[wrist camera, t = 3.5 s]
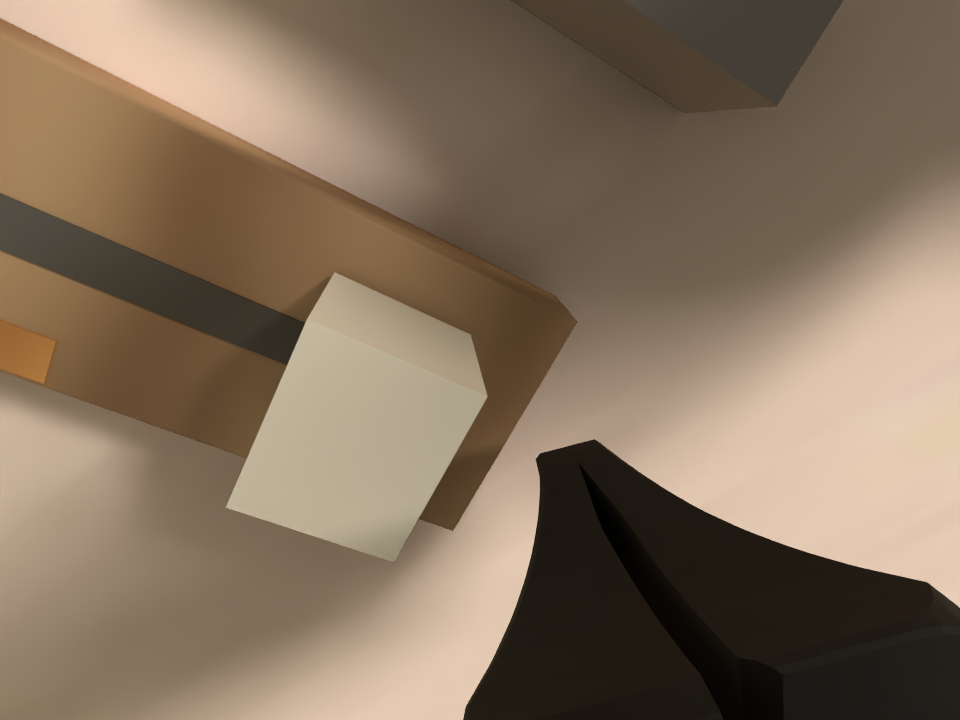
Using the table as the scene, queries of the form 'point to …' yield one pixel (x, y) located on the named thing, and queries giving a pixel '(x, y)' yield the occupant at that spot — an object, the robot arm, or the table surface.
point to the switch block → (214, 266)
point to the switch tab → (362, 422)
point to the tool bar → (697, 44)
